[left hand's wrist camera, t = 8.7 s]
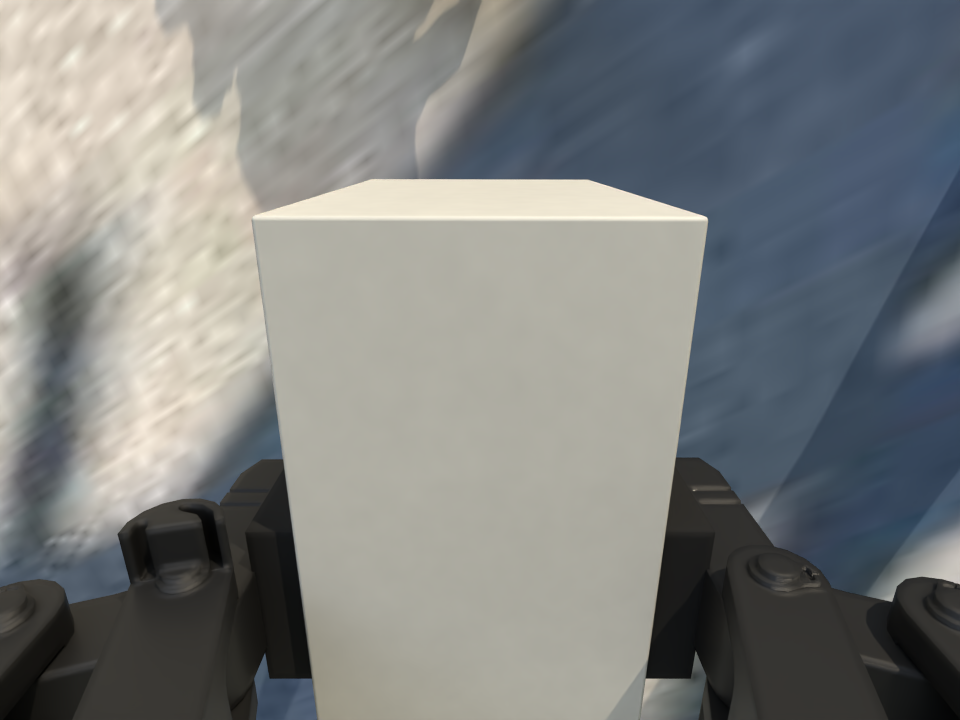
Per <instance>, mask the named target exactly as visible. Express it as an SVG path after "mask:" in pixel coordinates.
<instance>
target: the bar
mask: <svg viewBox="0 0 960 720" xmlns="http://www.w3.org/2000/svg"><path fill="white" fill-rule="evenodd" d="M707 225H708V220H707V217H704V216H702V215H698V214H695V213H692V212H689V211H686V210H682V209H679V208H676V207H673V206H670V205H666V204H663V203H660V202H657V201H654V200H651V199H647V198H644V197H641V196H638V195H635V194H631V193H628V192H625V191H622V190H619V189H615V188H612V187H609V186H606V185H603V184H599V183H596V182H593V181H590V180H450V179H371V180H368V181H365V182H361V183H358V184H355V185H352V186H348V187H345V188H342V189H339V190H336V191H332V192H329V193H326V194H323V195H319V196H316V197H313V198H310V199H306V200H303V201H300V202H297V203H293V204H290V205H287V206H284V207H280V208H277V209H274V210H271V211H267V212H264V213H261V214H258V215H255V216H253V217H252V226H253V234H254V241H255V249H256V257H257V264H258V272H259V279H260V287H261V295H262V302H263V310H264V317H265V325H266V333H267V340H268V348H269V355H270V363H271V370H272V378H273V386H274V393H275V401H276V408H277V416H278V424H279V431H280V439H281V446H282V454H283V462H284V469H285V477H286V484H287V492H288V499H289V507H290V515H291V522H292V530H293V537H294V545H295V553H296V560H297V568H298V575H299V583H300V591H301V598H302V606H303V613H304V621H305V628H306V636H307V644H308V651H309V659H310V666H311V674H312V682H313V689H314V697H315V704H316V712H317V720H640V715H641V708H642V701H643V693H644V686H645V679H646V671H647V664H648V657H649V649H650V642H651V635H652V627H653V620H654V613H655V605H656V598H657V591H658V583H659V576H660V569H661V562H662V554H663V547H664V540H665V532H666V525H667V518H668V510H669V503H670V496H671V488H672V481H673V474H674V466H675V459H676V452H677V444H678V437H679V430H680V422H681V415H682V408H683V400H684V393H685V386H686V379H687V371H688V364H689V357H690V349H691V342H692V335H693V327H694V320H695V313H696V305H697V298H698V291H699V283H700V276H701V269H702V261H703V254H704V247H705V239H706V232H707Z"/></svg>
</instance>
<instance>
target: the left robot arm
mask: <svg viewBox="0 0 960 720" xmlns="http://www.w3.org/2000/svg"><path fill="white" fill-rule="evenodd" d="M118 537H119V541H120V545H121V549H122V553H123V556H124V560H125V564H126V568H127V572H128V575H129V579H130V583H131V584H130V587H129V589H128V591H125V592H121V593H118V594H114V595H110V596H105V597H101V598H96V599H91V600H87V601H82V602H78V603H73V604H69V603H68V600H67V597H66V593H65V590H64V588H62V587H61V586H60V585H59V584H58V583H56V582H55V581H48V580H41V579H37V580H30V581H22V582H17V583H14V584H10V585H8V586H3V587H0V720H256V713H257V704H258V701H257V694H256V687H255V682H254V677H255V675H256V672H257V670H258V668H259V665H260V663H261V661H262V658H263V656H264V654H266V660H267V666H268V672H269V678H270V679H282V678H312V674H311V666H310V659H309V651H308V644H307V636H306V628H305V621H304V613H303V606H302V598H301V591H300V583H299V575H298V568H297V560H296V553H295V545H294V537H293V530H292V522H291V515H290V507H289V499H288V492H287V484H286V477H285V469H284V462H283V459H262V460H260V461H259V462H258V463H256V464H255V465H253V466H252V467H250V468H249V469H247V470H246V471H244V472H243V473H241V475H240V476H239V477H238V479H237V480H236V482H235V483H234V484H233V486H232V487H231V488H230V493H227V494H226V495H225V497H224V498H223V499H222V501H221V502H220V506H219V505H218V504H217V503H215V502H213V501H208V500H204V499H181V500H177V501H173V502H168V503H164V504H161V505H158V506H156V507H153V508H151V509H149V510H146V511H144V512H142V513H141V514H139V515H138V516H136V517H135V518H133V519H132V520H130V521H129V522H127V523H126V525H125V526H124V527H123V528H122V529H121V531H120V532H119V533H118ZM695 650H696V652H697V655H698V657H699V659H700V662H701V664H702V666H703V669H704V671H705V673H706V682H705V687H704V693H703V698H702V704H701V709H700V715H699V720H960V584H955V583H954V582H950V581H946V580H943V579H935V578H928V577H917V578H910V579H906V580H904V581H903V582H902V583H901V584H899V585H898V586H897V589H896V592H895V595H894V598H893V601H892V602H890V601H885V600H880V599H876V598H871V597H867V596H862V595H857V594H853V593H848V592H844V591H841V590H837V589H834V588H831V586H830V583H829V582H828V580H827V579H826V578H825V576H824V575H823V574H822V572H821V571H820V570H819V569H818V568H816V567H815V566H814V565H813V564H811V563H810V562H809V561H807V560H806V559H804V558H802V557H800V556H798V555H796V554H794V553H792V552H790V551H788V550H784V549H780V548H776V547H774V546H773V544H772V543H771V541H770V540H769V539H768V537H767V536H766V535H765V533H764V532H763V531H762V529H761V528H760V526H759V525H758V524H757V522H756V521H755V520H754V518H753V517H752V516H751V514H750V513H749V511H748V510H747V509H746V507H745V506H744V505H743V504H741V501H740V499H739V498H738V496H737V495H736V494H735V492H734V491H731V487H730V486H729V484H728V483H727V481H726V480H725V479H724V477H723V476H722V475H721V473H720V472H719V471H718V470H716V469H715V468H713V467H712V466H710V465H709V464H707V463H706V462H704V461H703V460H701V459H700V458H676V459H675V466H674V474H673V481H672V488H671V496H670V503H669V510H668V518H667V525H666V532H665V540H664V547H663V554H662V562H661V569H660V576H659V583H658V591H657V598H656V605H655V613H654V620H653V627H652V635H651V642H650V649H649V657H648V664H647V671H646V678H650V679H691V674H692V668H693V662H694V656H695Z"/></svg>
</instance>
